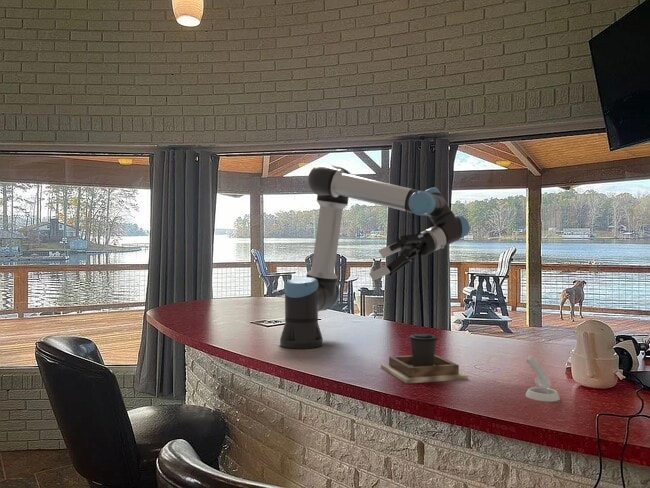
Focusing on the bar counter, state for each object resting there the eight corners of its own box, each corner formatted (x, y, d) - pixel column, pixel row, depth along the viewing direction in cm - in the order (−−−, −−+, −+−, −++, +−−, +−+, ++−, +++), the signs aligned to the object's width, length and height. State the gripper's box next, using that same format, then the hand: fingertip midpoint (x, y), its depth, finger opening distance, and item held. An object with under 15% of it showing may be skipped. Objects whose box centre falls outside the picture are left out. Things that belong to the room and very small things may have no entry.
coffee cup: (431, 374, 147) (431, 337, 147) (403, 370, 152) (404, 334, 151) (442, 368, 154) (442, 333, 154) (415, 364, 158) (415, 330, 158)
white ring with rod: (501, 373, 132) (517, 354, 135) (529, 412, 133) (545, 393, 136) (522, 373, 125) (539, 354, 128) (552, 414, 126) (568, 394, 129)
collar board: (406, 383, 142) (406, 370, 142) (381, 367, 159) (381, 355, 159) (467, 379, 147) (468, 366, 146) (437, 364, 164) (437, 352, 164)
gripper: (448, 227, 166) (392, 253, 158) (424, 269, 187) (374, 294, 178) (433, 209, 170) (378, 234, 161) (411, 253, 190) (361, 276, 182)
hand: (376, 266), depth 170 cm, fingers open, 13 cm apart
